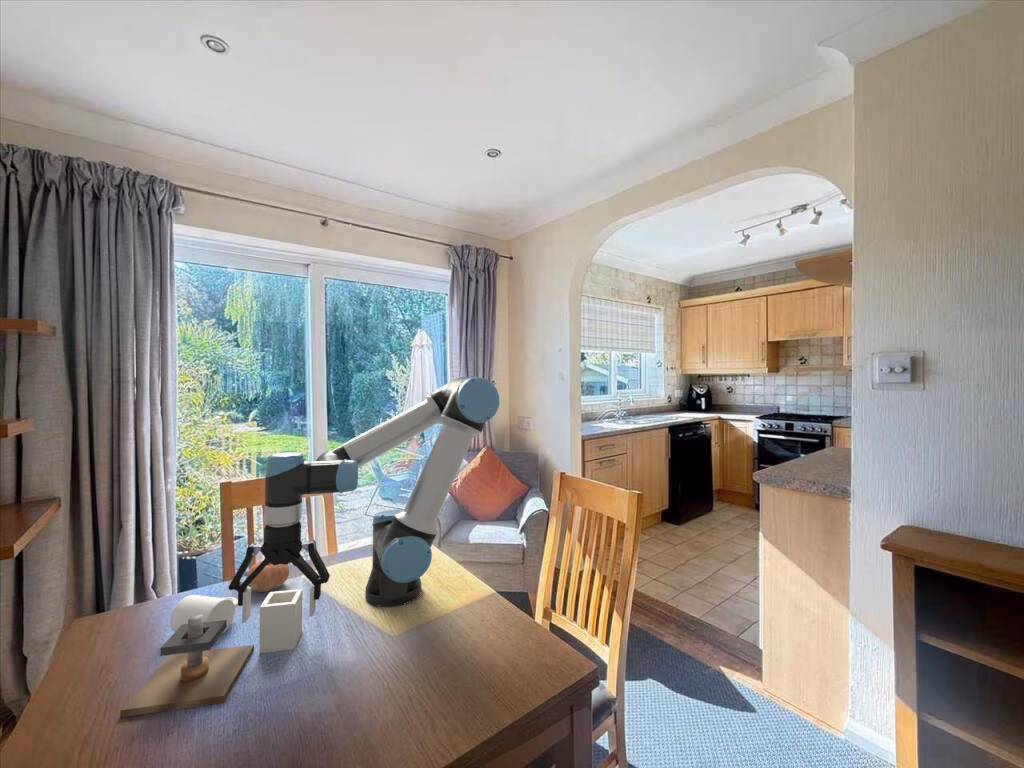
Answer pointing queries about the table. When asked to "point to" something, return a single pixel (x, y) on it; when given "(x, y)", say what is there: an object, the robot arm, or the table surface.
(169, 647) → the ring
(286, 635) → the sleeve
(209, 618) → the mug
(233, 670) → the peg stacking board
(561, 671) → the table surface
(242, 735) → the table surface
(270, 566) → the pumpkin
